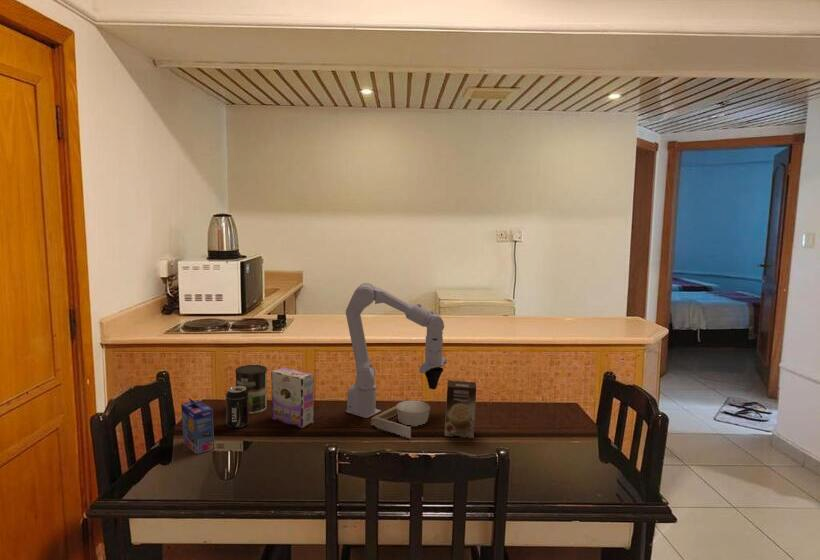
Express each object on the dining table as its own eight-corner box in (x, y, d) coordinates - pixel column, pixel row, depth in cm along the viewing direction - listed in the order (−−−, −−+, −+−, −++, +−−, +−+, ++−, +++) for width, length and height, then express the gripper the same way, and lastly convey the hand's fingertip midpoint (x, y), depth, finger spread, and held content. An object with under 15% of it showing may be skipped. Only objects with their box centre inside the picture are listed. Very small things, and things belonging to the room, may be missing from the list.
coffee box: (444, 436, 163) (446, 386, 161) (445, 428, 170) (446, 379, 167) (474, 438, 162) (476, 388, 160) (473, 430, 169) (475, 381, 167)
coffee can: (259, 415, 176) (258, 374, 174) (230, 412, 178) (229, 372, 176) (272, 404, 186) (271, 365, 184) (244, 402, 188) (244, 363, 186)
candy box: (314, 423, 171) (314, 373, 169) (301, 429, 166) (301, 378, 164) (284, 413, 178) (283, 366, 176) (270, 419, 173) (270, 370, 171)
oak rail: (370, 425, 170) (370, 418, 170) (395, 413, 181) (395, 406, 181) (374, 426, 169) (374, 419, 169) (398, 414, 180) (399, 407, 180)
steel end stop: (375, 428, 168) (375, 417, 167) (376, 427, 168) (377, 417, 168) (409, 439, 161) (409, 428, 160) (410, 438, 161) (410, 427, 161)
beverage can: (240, 431, 163) (239, 393, 162) (221, 427, 165) (220, 390, 164) (253, 422, 170) (252, 386, 168) (235, 419, 172) (234, 384, 170)
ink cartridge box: (181, 443, 154) (180, 395, 152) (200, 438, 158) (199, 391, 156) (195, 455, 147) (194, 405, 145) (214, 449, 151) (213, 400, 149)
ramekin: (390, 417, 177) (391, 402, 177) (421, 413, 182) (421, 398, 181) (403, 430, 167) (403, 414, 167) (435, 425, 172) (435, 409, 171)
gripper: (432, 356, 170) (431, 396, 172) (454, 347, 182) (453, 385, 184) (414, 352, 174) (413, 392, 176) (437, 344, 186) (436, 381, 188)
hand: (432, 388), depth 180 cm, fingers closed
